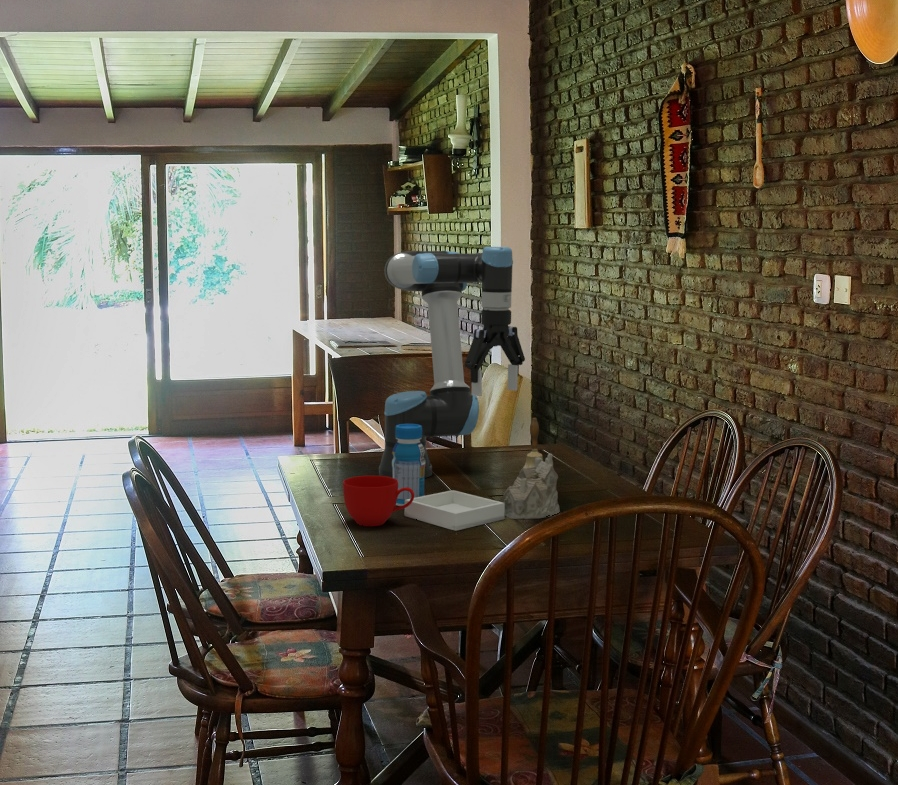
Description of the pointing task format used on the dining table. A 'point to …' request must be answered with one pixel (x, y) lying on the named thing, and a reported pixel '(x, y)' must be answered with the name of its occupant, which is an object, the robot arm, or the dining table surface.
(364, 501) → the ceramic cup
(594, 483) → the dining table surface
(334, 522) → the dining table surface
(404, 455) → the beverage bottle
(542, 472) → the ceramic cottage
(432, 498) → the tray
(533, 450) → the hand bell
